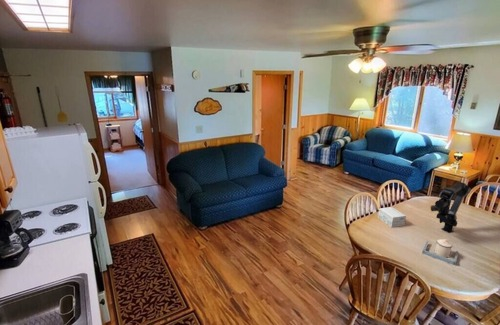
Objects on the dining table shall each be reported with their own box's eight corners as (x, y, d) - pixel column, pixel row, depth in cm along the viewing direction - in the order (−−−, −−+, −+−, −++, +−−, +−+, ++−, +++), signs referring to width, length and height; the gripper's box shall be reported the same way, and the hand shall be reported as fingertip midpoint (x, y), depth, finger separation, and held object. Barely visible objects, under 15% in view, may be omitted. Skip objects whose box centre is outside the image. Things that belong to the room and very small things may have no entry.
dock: (426, 243, 202) (426, 240, 201) (457, 254, 190) (458, 251, 189) (422, 253, 191) (422, 250, 190) (455, 265, 179) (456, 262, 178)
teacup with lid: (452, 258, 186) (456, 243, 183) (439, 257, 187) (443, 243, 183) (441, 247, 198) (445, 233, 194) (428, 247, 198) (432, 233, 194)
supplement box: (404, 225, 226) (406, 215, 223) (391, 227, 223) (393, 217, 220) (390, 215, 242) (391, 206, 239) (377, 217, 239) (379, 208, 236)
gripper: (434, 197, 214) (430, 214, 219) (430, 205, 201) (426, 224, 206) (451, 201, 207) (447, 219, 212) (448, 210, 194) (443, 229, 199)
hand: (440, 222), depth 207 cm, fingers closed
